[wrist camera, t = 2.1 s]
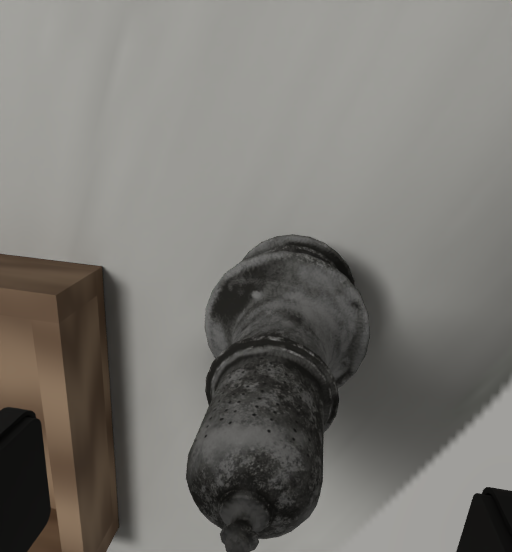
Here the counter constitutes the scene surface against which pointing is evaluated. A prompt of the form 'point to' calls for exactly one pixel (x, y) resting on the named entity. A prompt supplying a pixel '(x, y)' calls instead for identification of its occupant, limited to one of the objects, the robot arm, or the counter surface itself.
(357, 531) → the counter surface
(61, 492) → the tray
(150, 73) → the counter surface
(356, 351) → the dark grey rounded piece
